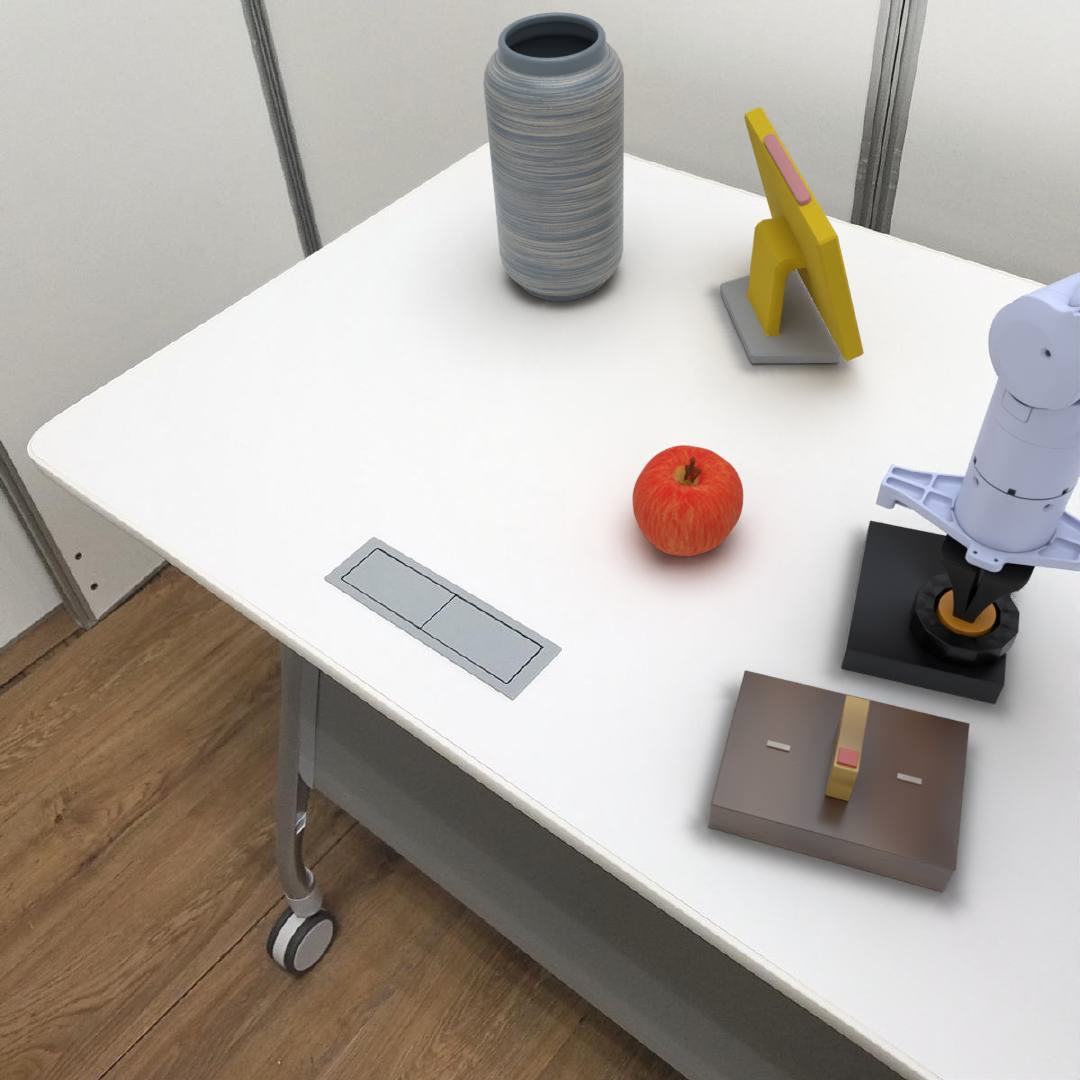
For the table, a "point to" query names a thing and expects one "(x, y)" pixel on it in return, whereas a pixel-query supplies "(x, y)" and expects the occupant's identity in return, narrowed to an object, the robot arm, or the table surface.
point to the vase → (557, 153)
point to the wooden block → (847, 748)
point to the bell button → (962, 627)
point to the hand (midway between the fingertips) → (967, 609)
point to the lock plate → (879, 791)
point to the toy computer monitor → (791, 269)
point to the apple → (687, 500)
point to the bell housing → (920, 620)
